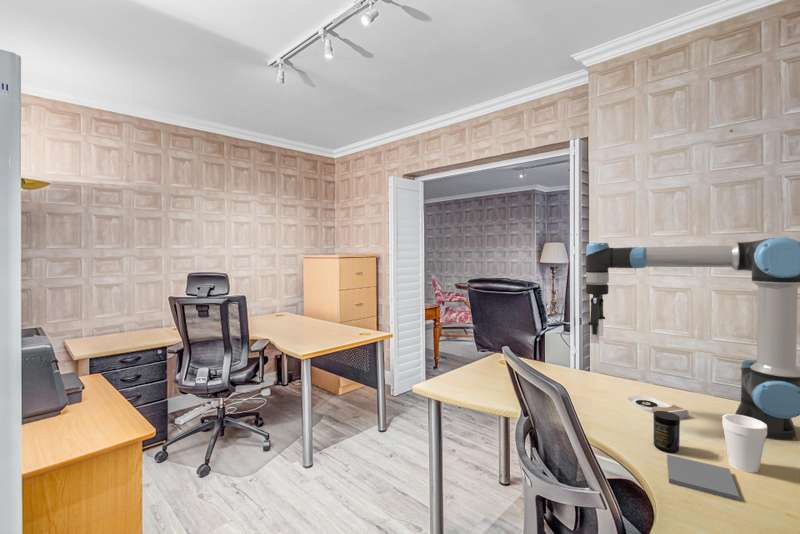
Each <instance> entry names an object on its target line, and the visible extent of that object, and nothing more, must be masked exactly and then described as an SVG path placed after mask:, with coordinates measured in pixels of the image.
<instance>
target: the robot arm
mask: <svg viewBox="0 0 800 534" xmlns="http://www.w3.org/2000/svg"><path fill="white" fill-rule="evenodd" d="M647 267H648V268H651V267H652V268H654V267H655V268H657V267H658V268H665V267H666V268H732V269H733V270H734V271H747V272H751V282H752V283H754V285H756V287H757V329H756V330H757V331H756V333H757V337H756V338H757V340H756V360H754V359H753V360H752V359H751V360H750V359H748V360H747V359H746V360H743V361H742V363H741V367H740V370H741V371H740V373H741V374H740V375H741V376H740V377H741V379H740V381H741V382H740V385H741V387H740V403H739V405H738V407H737V409H736V412H735V413H734V414H736V415H743V416H747V417H751V418H755V419H757V420H760V421H762V422H764V423H765V424H767V436H766V438H769V439H775V440H791V439H792V440H793V439H795V438H796V434H797V429H796V428H795V425H794V421H793V420H792V419H793V418H797V417H799V416H800V369H798V368H797V342H798V340H797V339H798V302H799V301H798V294H799V293H798V292H799V291H798V290H799V288H800V241H798V240H796V239H793V238H790V237H785V236H784V237H782V236H778V237H771V238H764V239H759V240H755V241H754V240H753V241H741V242H740V241H739V242H734V243H733V244H731V245H702V246H701V245H692V246H690V245H689V246H688V245H687V246H685V245H684V246H651V247H649V246H647V247H646V246H645V247H642V246H641V247H640V246H633V247H631V246H629V247H610V246H609V243H608V242H589V243H587V244H586V252H585V272H586V273H585V274H584V277H585V282H586V283H587V284H586V285H585V292H586V294H587V295H592V297H591V298H590V318H589V319H590V320H589V322H588V326H590V343H591V344H597V345H599V344H600V337H604V320H606V316H605V315H604V296H605V295H609V285H608V283H609V281H610V279H609V278H610V277H609V276H610V274H609V269H644V268H647ZM603 295H604V296H603Z"/></svg>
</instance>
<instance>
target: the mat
mask: <svg viewBox="0 0 800 534" xmlns="http://www.w3.org/2000/svg"><path fill="white" fill-rule="evenodd" d="M666 460H667V463H666V464H667V475H668V476H667V477H668V484H671V485H676V486H679V487H684V488H687V489H691V490H693V491H698V492H703V493H705V494H710V495H713V496H717V497H722V498H725V499H729V500H733V501H736V502H740V495H739V492H738V489H737V487H736V484H735V483H736V482H735V481H734V478H733V476H732V475H733V474H732V473H731V470H730V468H728V467H723V466H720V465H716V464H715V465H714V464H710V463H706V462H701V461H697V460H693V459H688V458H684V457H679V456H676V455H675V456H674V455H671V454H666Z"/></svg>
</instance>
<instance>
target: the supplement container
mask: <svg viewBox="0 0 800 534" xmlns="http://www.w3.org/2000/svg"><path fill="white" fill-rule="evenodd" d="M652 417H653V436H652V437H653V442H652V443H653V446H654V447H655V448H656V449H657V450H659V451H661V452H665V453H669V454H676V453H678V452H679V451H680V439H681V438H680V437H681V436H680V431H681V430H680V429H681V428H680V426H681V425H680V424H681V418H680V417H679V416H678V415H676V414H674V413H671V412H666V411H655V412H654V413H653V416H652Z"/></svg>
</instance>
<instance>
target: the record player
mask: <svg viewBox="0 0 800 534" xmlns="http://www.w3.org/2000/svg"><path fill="white" fill-rule="evenodd" d="M627 402H628V404H630V405H631V406H632V407H633V406H634V407H635V408H638V409H639V410H642V411H644V412H647V413H650V414H654V412H655V411H666V412H671V413H674V414H676V415H678V416H679V417H680V419H686V418H688V417H689V410H688V409H685V408H683V407H681V406H678V405H675V404H672V405H670V404H668V403H666V402H663V401H660V400H658V399H657V398H654V397H649V396H643V395H632V396H628V398H627Z"/></svg>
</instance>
